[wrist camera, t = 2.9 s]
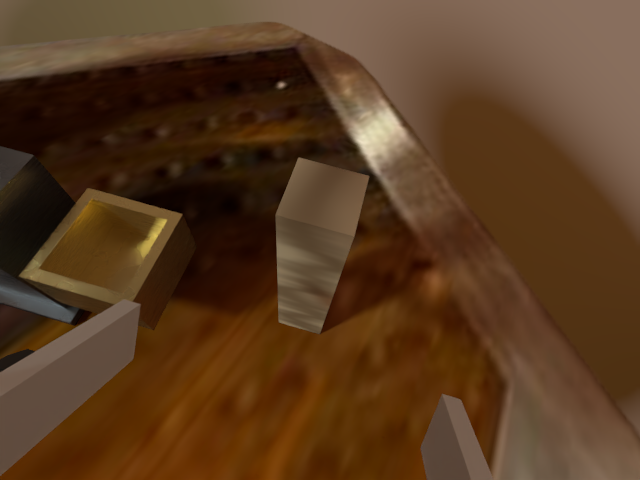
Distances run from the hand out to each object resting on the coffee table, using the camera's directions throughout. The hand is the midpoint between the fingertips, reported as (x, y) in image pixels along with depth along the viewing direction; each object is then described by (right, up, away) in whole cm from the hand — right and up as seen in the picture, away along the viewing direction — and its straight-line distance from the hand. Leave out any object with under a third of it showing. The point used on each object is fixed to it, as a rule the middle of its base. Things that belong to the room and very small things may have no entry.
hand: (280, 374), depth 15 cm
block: (0, -1, +19) cm, 19 cm away
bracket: (-19, +2, +18) cm, 27 cm away
